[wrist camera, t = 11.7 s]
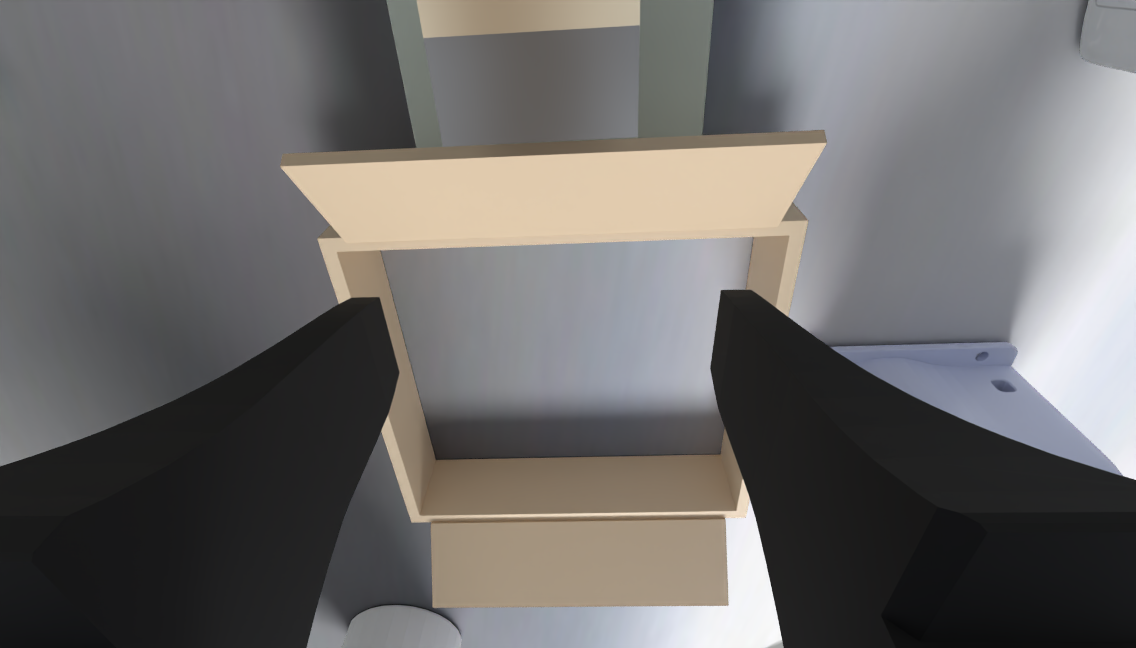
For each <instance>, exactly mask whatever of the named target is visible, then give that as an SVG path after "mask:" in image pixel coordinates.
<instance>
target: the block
mask: <svg viewBox="0 0 1136 648" xmlns="http://www.w3.org/2000/svg"><path fill="white" fill-rule="evenodd" d="M417 6H418V11H419V17H420V23H421V28H422V34H423V39H424V45H425V50H426V56H427V61H428V67H429V73H430V78H431V84H432V89H433V95H434V100H435V106H436V112H437V117H438V123H439V128H440V134H441V139H442V145H443V147H452V146H472V145H492V144H512V143H533V142H553V141H573V140H593V139H613V138H633V137H638V100H639V42H640V0H417Z"/></svg>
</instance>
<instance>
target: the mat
mask: <svg viewBox="0 0 1136 648" xmlns="http://www.w3.org/2000/svg"><path fill="white" fill-rule="evenodd" d="M386 1H387V6H388V11H389V16H390V21H391V26H392V31H393V36H394V41H395V46H396V51H397V55H398V60H399V65H400V70H401V75H402V80H403V85H404V90H405V95H406V100H407V105H408V110H409V115H410V120H411V125H412V130H413V135H414V140H415V145H416V148H428V147H443V145H442V139H441V134H440V128H439V123H438V117H437V112H436V106H435V100H434V95H433V89H432V84H431V78H430V73H429V67H428V61H427V56H426V50H425V45H424V39H423V34H422V28H421V23H420V17H419V11H418V6H417V0H386ZM713 6H714V0H640V42H639V100H638V137H633V138H654V137H677V136H700V135H702V133H703V121H704V110H705V98H706V87H707V75H708V63H709V52H710V40H711V29H712V17H713ZM613 139H632V138H613ZM593 140H609V139H593ZM573 141H586V140H573ZM553 142H564V141H553ZM533 143H541V142H533ZM512 144H518V143H512ZM492 145H496V144H492ZM472 146H473V145H472Z"/></svg>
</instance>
